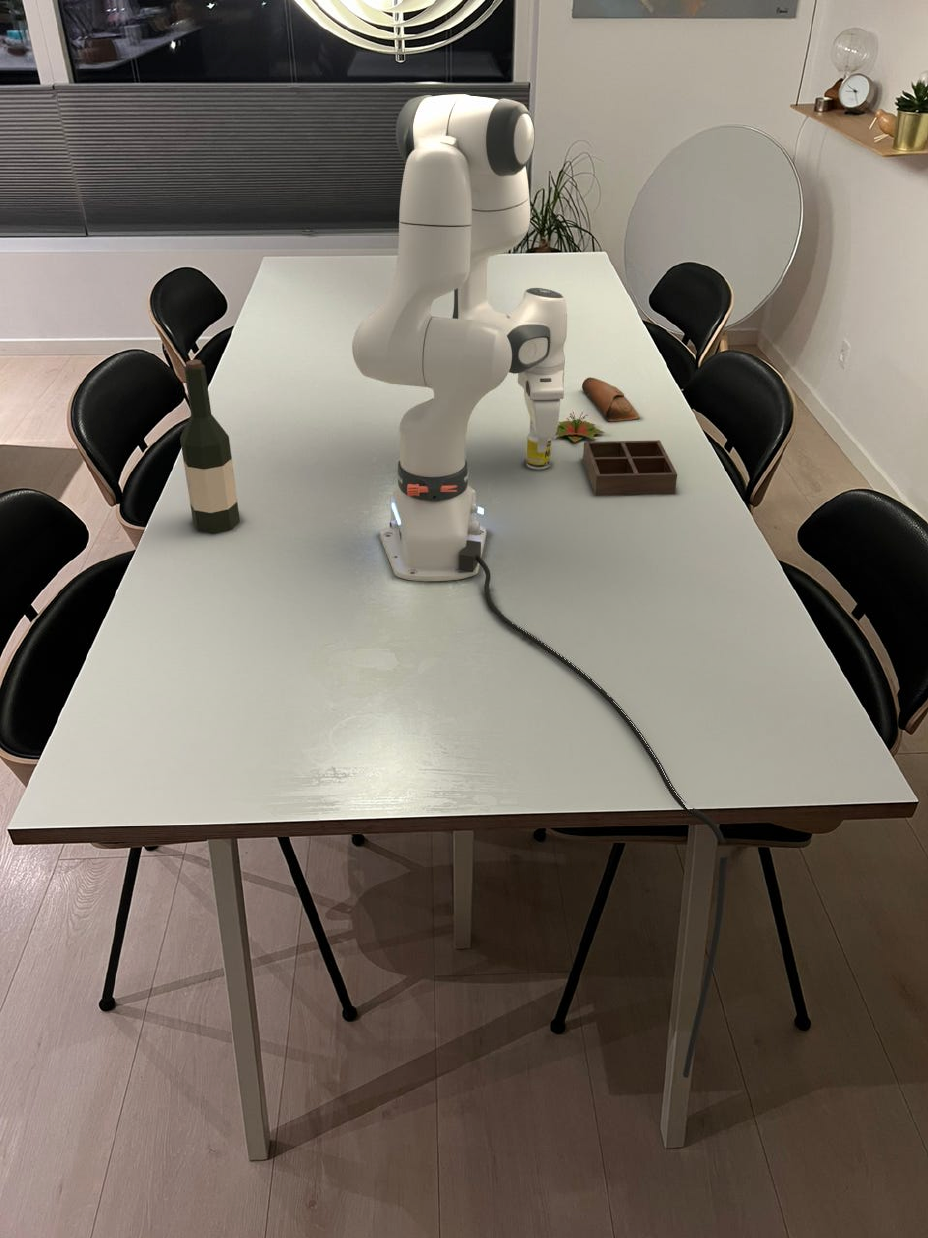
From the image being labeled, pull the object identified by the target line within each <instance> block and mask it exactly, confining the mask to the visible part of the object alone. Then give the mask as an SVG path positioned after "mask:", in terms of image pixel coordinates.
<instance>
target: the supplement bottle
mask: <svg viewBox="0 0 928 1238" xmlns="http://www.w3.org/2000/svg"><path fill="white" fill-rule="evenodd" d="M526 438H527V441H526V442H527V443H526V462H525V463H526V464H525V465H526V466H527V468H530V469H532V470H537V471H539V470H546V469H548V468H549V467H550V463H551V450H552V449H551V448H552V439H548V442H547V450H546V452H540V453H539V452H538V451H537V437H536V434H535V431H534V428H533V424H531V425H530V424H529V433H528V434H527V437H526Z"/></svg>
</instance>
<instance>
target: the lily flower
mask: <svg viewBox="0 0 928 1238" xmlns="http://www.w3.org/2000/svg"><path fill="white" fill-rule="evenodd" d="M583 413H584V411H582V413H580V415H579V417H578V418H576V415H575V412H574V411H572V413H571V412H570V413H569V418H571V420H570V419H569V418H568V417H566V420H563V421H558V427H557V433H556V438H560V437H563V436H567V438H568V439H569V440H570V441H572V442H573V443H574V444H576V442H578V441H580V440H582V439H584V438H588V439H590V440H593V441H596V439H595V435H599V434H606V433H607V432H606V431H603V430H602V429H599V428H595V426H597V424H595V423H593V422H590V421H587V420H584V419H585V418H586V417H587V416H588V414H585V415H583ZM582 415H583V416H582Z"/></svg>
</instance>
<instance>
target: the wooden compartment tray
mask: <svg viewBox="0 0 928 1238" xmlns="http://www.w3.org/2000/svg"><path fill="white" fill-rule="evenodd" d="M582 449H583V452H582V462H583V465H584V468H585V471H586V474H587V477H588V479H589V482H590V485H591V487H592V491H593V493H594V495H595V496H623V495H624V496H625V495H626V496H628V495H629V496H630V495H666V494H667V495H668V494H669V495H671V494H676V488H677V481H678V473H677V471H676V469H675V467H674V464H673V463H672V461H671V459H670V456H669V455H668V453H667V451H666V449H665V447H664V445H663V444H662V442H661V440H658V439H657V440H615V441H612V440H611V441H610V440H609V441H607V440H606V441H584V442H583V448H582Z"/></svg>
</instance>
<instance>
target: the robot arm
mask: <svg viewBox="0 0 928 1238" xmlns="http://www.w3.org/2000/svg"><path fill="white" fill-rule="evenodd" d="M395 139H396V144H397V149H398V151H399V154H400V156H401V158H402V160H403V161H404V163H405V167H404V171H403V175H402V176H403V177H402V183H401V190H400V200H399V215H398V221H399V222H398V246H397V260H396V268H395V275H394V278H393V283H392V284H391V287H390V289H389V292H388V293H387V295H386V297H385V299H384V300H383V301H382V303H381V304H380V306H378V307H377V308H376V309H375V310H374V311H373V312H372V313H371V314H369V315H368V316H366V317H365V318H364V319H363V320H362V321H361V322H360V323H359V325H358V326H357V327H356V330H355V332H354V333H353V338H352V342H351V351H352V358H353V361H354V363H355V365H356V368H357V369H358V371H359V372H360V373H361V375H362V376H364V377H366V378H370V379H372V380H376V381H379V382H382V383H386V384H389V385H399V386H410V387H411V386H412V387H421V388H422V387H423V388H428V389H431V390H432V391H433V398H431V399H428V400H426V401H423V402H421V403H418V404H416V405H414V406H412V407H411V408H409V409H408V410H407V411H406V412H405V413H404V414H403V416H402V417H401V419H400V422H399V425H398V429H399V432H398V433H399V461H398V462H397V469H396V475H397V484H398V485H397V486H396V487H395V488H394V489H393V490H392V491H391V492H390V493H389V495H390V496H389V497H390V499H389V501H390V502H389V503H390V521H389V526H387V527H384V528H382V529H381V530H380V534H379V539H380V541H381V542H382V546H383V549H384V551H385V553H386V556H387V559H388V561H389V564H390V567H391V569H392V572H393V574H394V575H395V576H396V577H397V578H400V579H403V580H408V581H414V582H415V581H417V582H449V581H456V580H457V581H458V580H462V579H467V578H470V577H474V576H476V575H477V574H478V573H479V571H480V566H481V568H482V570H483V571H484V573H485V580H484V584H483V585H484V586H483V591H484V597H485V599H486V603H487V604H488V606H489V608H490V609H491V610H492V612H493V614H495V615H496V616H497V617H498V618H499V619H500V620H501V622H503V623H504V624H505V625H506V626H508V627H509V628H511V629H512V630H514V631H515V632H516V633H518V634H520V635H522V636H523V637H525V638H526V639H528V640H529V641H531V642H532V643H533V644H535V645H537V646H538V647H539V648H541V649H542V650H543V651H545V652H546V653H548V654H549V655H551V656H552V657H554V658H555V659H556V660H558V661H559V662H560V663H562V664H564V665H565V666H566V667H567V668H569V669H570V670H572V671H573V672H574V673H575V674H577V676H579V678H582V679H583V680H584V681H585V682H586V683H587V684H589V686H591V687H592V688H593V690H595V691H596V692H597V693H598V694H599V695H600V696H602V698H603V699H605V701H607V703H608V704H609V705H610V706H611V707H612V708H613V709H614V710H615V711H616V713H617V714H618V715H619V716H620V717H621V719H622V720H623V721H624V722H625V723H626V725H627V726H628V727H629V729H630V730H631V731H632V733H633V735H634V736H635V737H636V739H637V740H638V741H639V743H640V744H641V746H642V747H643V749H644V751H645V752H646V754H647V755H648V757H649V759H650V760H651V762H652V763H653V765H654V766H655V768H656V770H657V772H658V774H659V777H660V778H661V781H663V784H664V786H665V787H666V790H667V791H668V792H669V794H670V795H671V797H672V798H673V800H674V801H675V802H676V804H678V805H679V806H680V807H681V808H682V809H683V810H684V811H685V812H686V813H688V814H689V815H692V816H694V817H696V818H697V819H699V820H700V821H702V822H703V823H705V824H706V825H707V826H708V827H709V828H710V829H711V831H712V832H713V834H714V835H715V837H716V839H717V841H718V843H719V844H722V845H723V844H726V839H725V836H724V834H723V832H722V830H721V828H720V827H719V826H718V825H717V823H716V822H715V821H714V820H713V819H712V818H711V817H710V816H709V815H707V814H705V813H703V812H702V811H700V810H698V809H696V808H695V807H693V809H690V810H688V809H687V808H686V807H685V805H684V804H683V802H682V801H681V799H682V800H683V801H684V802H685V803H687V801H685V800H684V799H683V798H682V797H681V795H680V794H679V792H678V791H677V790H676V788H675V787H674V785H673V782H671V780H670V777H669V776H668V774H667V772H666V770H665V768H664V766H663V764H662V763H661V760H660V759H659V758H658V756H657V755H656V753H655V752H654V750H653V749H652V747H651V746H650V744H649V743H648V741H647V739H646V737H645V736H644V735H643V734H642V732H641V731H640V729H639V728H638V727H637V725H636V724H635V723H634V721H633V720H632V719H631V717H630V716H629V715H628V714H627V713H626V711H625V710H624V709H623V708H622V707H621V706H620V705H619V703H617V701H615V699H614V698H613V697H612V696H611V695H610V694H609V693H608V692H607V691H606V690H605V689H604V688H603V687H602V686H601V685H599V683H597V682H596V680H594V679H592V677H590V676H589V675H588V674H586V672H584V671H583V669H580V668H579V667H578V666H577V665H576V664H574V663H573V662H571V661H570V660H569V659H568V658H566V657H565V656H563V655H562V654H561V653H559V652H558V651H556V650H555V649H553V648H552V647H551V646H549V645H547V644H546V643H544V642H543V641H541V640H540V639H539V638H537V637H536V636H534V635H533V634H532V633H530V632H529V631H527V630H525V629H524V628H522V627H520V626H519V625H517V624H516V623H514V622H513V621H511V620H510V619H509V618H507V617H506V616H505V615H504V614H503V613H502V611H500V609H498V607H497V606H496V605H495V602H494V601H493V599H492V595H491V591H490V584H491V578H492V577H491V571H490V568H489V567H488V565H487V563H486V562H485V561H484V560H483V558H482V557H483V553H484V548H485V543H486V540H487V535H488V533H487V529H486V527H484V526H483V525H481V524H480V522H479V521H478V520H476V515H477V514H479V515H480V514H481V515H484V511H485V510H484V508H483V507H480V506H478V505H476V490H474V489H473V487H471V486H470V485H469V467H468V461H467V460H466V447H467V444H466V443H467V433H468V425H469V421H470V418H471V415H472V413H473V412H474V410H475V408H476V406H477V404H478V403H479V402H480V401H481V400H482V399H483V398H484V397H485V396H486V395H487V394H489V393H490V392H491V391H493V390H495V389H497V388H498V387H499V386H500V385H501V384H502V383H503V382H504V381H505V379H506V378H507V376H508V374H509V373H510V374H513V375H514V374H515V375H516V374H517V384H518V385H519V386H520V387H522V389H523V398H524V402H525V405H526V408H527V412H528V414H529V426H530V425H531V424H533V428H534V431H535V434H536V437H537V451H538V452H539V453H540V452H546V450H547V442H548V439H551V440H553V439H555V438H556V437H557V434H558V432H557V427H558V426H559V419H560V410H561V400H563V399H564V397H565V385H564V383H565V366H566V355H565V349H564V348H565V343H566V341H567V334H568V333H567V332H568V309H567V303H566V300H565V297H564V296H563V295H562V294H561V293H559V292H557V291H555V290H552V289H547V288H542V287H531V288H527V289H526V290H525V291H524V293H523V297H522V300H521V301H520V303H519V304H518V305H517V306H516V307H515V308H514V309H513V310H512V311H511V312H509V313H504V312H501V311H499V310H497V309H495V308H494V307H492V305H491V304H490V303H489V301H488V298H487V282H488V280H487V279H488V262H489V259H490V257H494V256H498V255H500V254H504V253H506V252H508V251H510V250H512V249H514V248H515V247H516V246H518V245H519V244H520V243H521V242H522V241H523V239H525V236H526V235H527V234H528V232H529V228H530V223H531V202H530V201H531V200H530V188H529V179H528V173H527V167H526V166H527V165H528V163H529V162H530V160H531V158H532V156H533V153H534V148H535V143H536V128H535V122H534V119H533V116H532V115H531V113H530V112H529V110H528V109H527V107H526V106H525V105H524V104H523V103H522V102H519V101H516V100H513V99H509V98H500V99H497V98H491V97H484V96H473V95H469V94H464V93H463V94H461V93H460V94H457V93H456V94H442V95H434V96H433V95H431V94H425V95H420V96H417V97H413V98H410V99H408V100H407V101H406V102H405V104H404V105H403V107H402V109H401V110H400V112H399V114H398V117H397V120H396V125H395ZM451 292H453V311H452V317H439V316H434V315H431V314H432V313H431V310H432V304H433V302H434V300H436V299H439V298H440V297H443V296H444V295H445V296H446V295H447V294H449V293H451ZM512 623H513V624H512ZM517 626H518V627H519V628H518V627H517ZM520 628H521V629H520ZM522 629H523V630H524V631H523V630H522ZM525 631H526V632H527V633H526V632H525ZM528 633H529V634H530V635H529V634H528ZM531 635H532V636H533V637H532V636H531ZM534 637H535V638H536V639H535V638H534ZM537 639H538V640H539V641H538V640H537ZM541 642H542V643H541ZM544 644H545V645H546V646H545V645H544ZM547 646H548V647H549V648H548V647H547ZM550 648H551V649H552V650H551V649H550ZM553 650H554V651H555V652H554V651H553ZM556 652H557V653H558V654H559V655H558V654H557V653H556ZM560 655H561V656H562V657H561V656H560ZM564 658H565V659H566V660H565V659H564ZM568 661H569V662H570V663H569V662H568ZM572 664H573V665H574V666H575V667H574V666H573V665H572ZM576 667H577V668H578V669H579V670H578V669H577V668H576ZM580 670H581V671H582V672H583V673H584V674H583V673H582V672H581V671H580ZM585 674H586V675H587V676H588V677H589V678H590V679H589V678H588V677H587V676H586V675H585ZM592 680H593V681H594V682H595V683H596V684H597V685H598V686H599V687H600V688H601V689H600V688H599V687H598V686H597V685H596V684H595V683H594V682H593V681H592ZM607 694H608V695H609V696H610V697H609V696H608V695H607ZM613 701H614V702H615V703H616V704H617V705H618V706H619V707H620V708H621V709H620V708H619V707H618V706H617V705H616V704H615V703H614V702H613ZM621 710H622V711H623V712H624V713H625V714H626V715H625V714H624V713H623V712H622V711H621ZM626 716H627V717H628V718H629V719H630V720H629V719H628V718H627V717H626ZM630 721H631V722H632V723H633V724H634V726H635V727H636V728H637V730H638V731H639V732H638V731H637V730H636V728H635V727H634V726H633V724H632V723H631V722H630ZM639 733H640V734H641V735H642V737H643V738H644V740H645V741H646V743H647V744H646V743H645V741H644V740H643V738H642V737H641V735H640V734H639ZM647 745H648V746H649V747H648V746H647ZM649 748H650V749H651V751H652V752H653V754H654V755H655V757H656V758H655V757H654V755H653V754H652V752H651V751H650V749H649ZM656 759H657V760H658V762H659V763H658V762H657V760H656ZM659 764H660V765H661V767H662V769H663V771H664V773H665V775H666V777H667V779H668V780H667V779H666V777H665V775H664V773H663V771H662V769H661V767H660V765H659ZM668 781H669V782H668ZM669 783H670V784H671V786H672V787H671V786H670V784H669ZM672 788H673V789H674V790H673V789H672ZM674 791H675V792H676V793H677V795H678V796H679V797H680V798H681V799H680V798H679V797H678V796H677V795H676V793H675V792H674ZM718 865H719V866H718V878H717V896H716V908H715V916H714V923H713V930H712V937H711V941H710V948H709V953H708V959H707V964H706V968H705V972H704V977H703V981H702V986H701V990H700V994H699V999H698V1003H697V1008H696V1011H695V1015H694V1021H693V1025H692V1029H691V1034H690V1037H689V1042H688V1047H687V1052H686V1056H685V1062H684V1067H683V1072H682V1075H683V1078H685V1079H686V1078H689V1076H690V1073H691V1067H692V1062H693V1057H694V1052H695V1049H696V1048H695V1047H696V1044H697V1039H698V1034H699V1030H700V1025H701V1022H702V1018H703V1013H704V1010H705V1005H706V1001H707V998H708V997H707V996H708V993H709V987H710V984H711V979H712V975H713V971H714V965H715V961H716V956H717V952H718V946H719V940H720V935H721V928H722V921H723V914H724V905H725V896H726V895H725V892H726V874H727V865H728V857H727V856H724V857H722V856H721V857H719V864H718Z"/></svg>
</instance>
